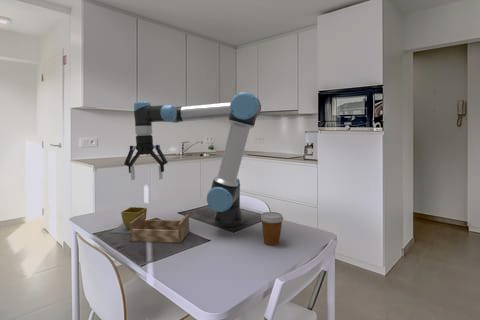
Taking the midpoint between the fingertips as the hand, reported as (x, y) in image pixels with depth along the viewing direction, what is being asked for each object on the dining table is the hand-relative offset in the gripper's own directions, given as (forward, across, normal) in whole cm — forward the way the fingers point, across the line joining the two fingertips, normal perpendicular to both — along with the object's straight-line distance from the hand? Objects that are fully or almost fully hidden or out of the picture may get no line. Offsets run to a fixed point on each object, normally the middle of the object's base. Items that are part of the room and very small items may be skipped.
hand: (147, 179), depth 140 cm
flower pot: (+23, +6, +3) cm, 24 cm away
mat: (+23, +9, +3) cm, 25 cm away
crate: (+24, -9, +12) cm, 28 cm away
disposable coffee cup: (+26, -58, +17) cm, 66 cm away
